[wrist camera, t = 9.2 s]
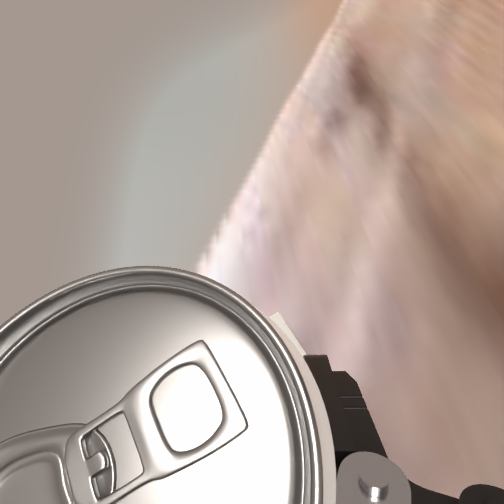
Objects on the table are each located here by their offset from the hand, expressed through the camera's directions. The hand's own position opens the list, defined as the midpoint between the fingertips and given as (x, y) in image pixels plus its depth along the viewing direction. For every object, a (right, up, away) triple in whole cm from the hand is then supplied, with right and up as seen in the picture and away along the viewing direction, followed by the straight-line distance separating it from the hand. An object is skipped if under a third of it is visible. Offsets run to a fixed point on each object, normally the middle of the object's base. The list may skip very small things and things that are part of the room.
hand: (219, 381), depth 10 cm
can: (0, -5, +4) cm, 6 cm away
